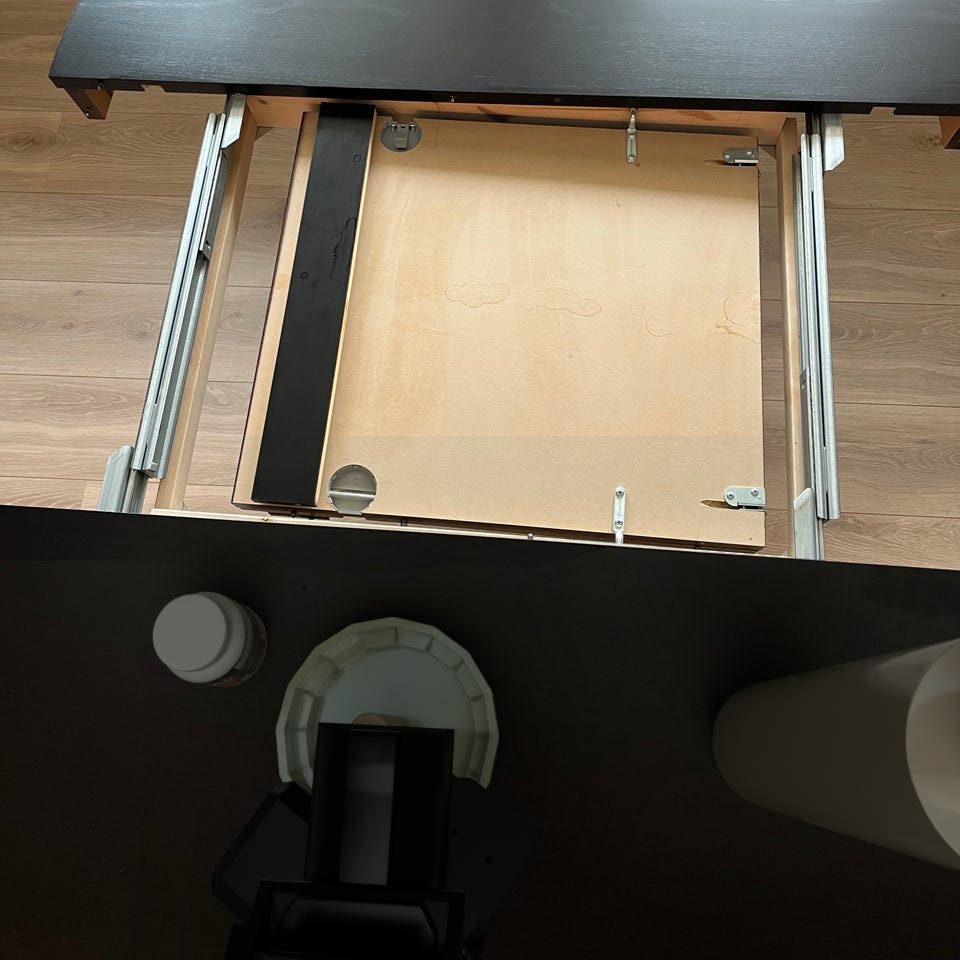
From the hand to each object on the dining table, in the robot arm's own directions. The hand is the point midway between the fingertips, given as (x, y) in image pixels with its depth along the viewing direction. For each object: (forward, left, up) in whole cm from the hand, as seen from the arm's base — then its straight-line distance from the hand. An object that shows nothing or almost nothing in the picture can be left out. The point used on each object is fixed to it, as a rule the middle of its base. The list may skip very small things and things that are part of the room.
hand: (415, 926), depth 58 cm
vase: (+14, -20, -12) cm, 27 cm away
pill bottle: (+12, +18, -12) cm, 25 cm away
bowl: (+9, +5, -12) cm, 16 cm away
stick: (+9, +5, -11) cm, 15 cm away
